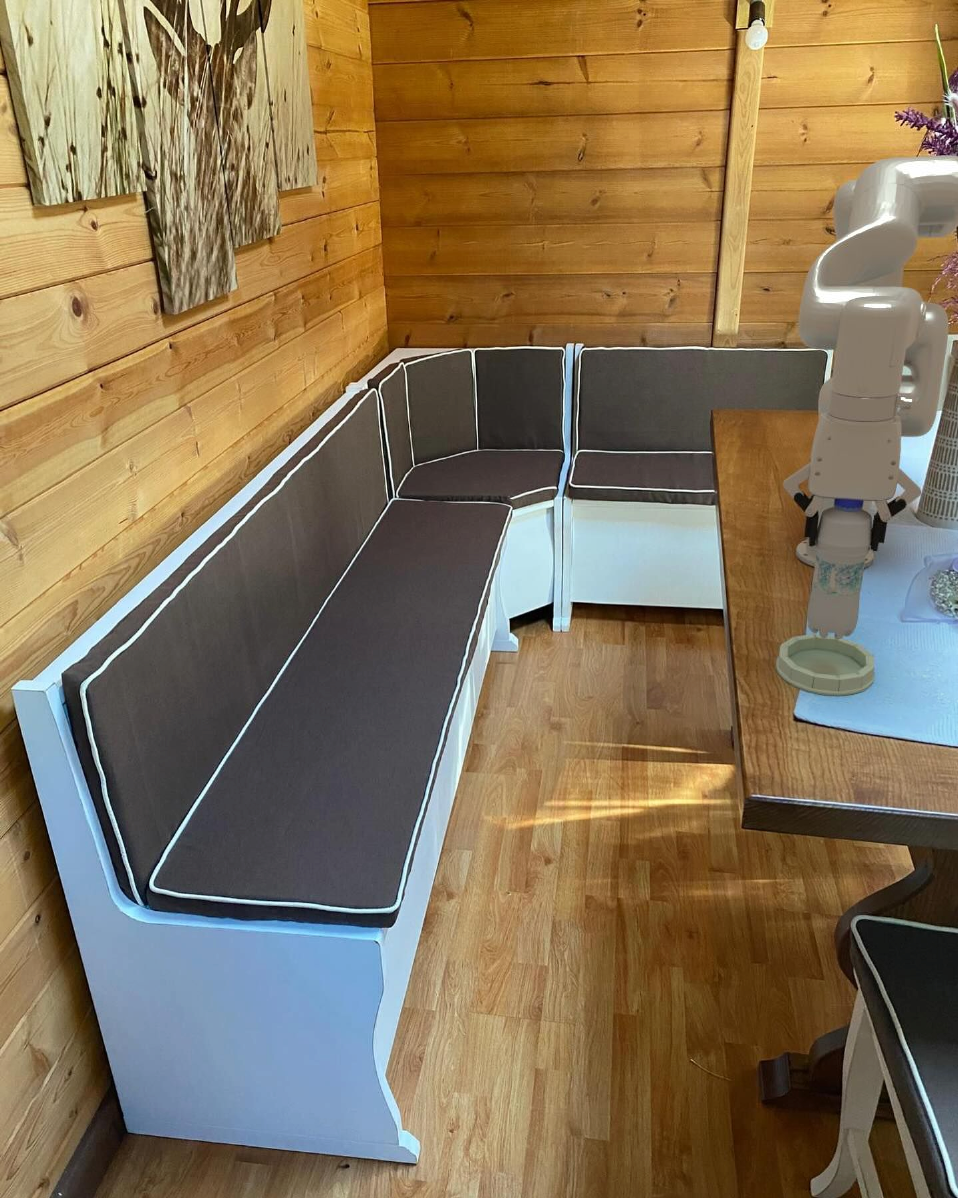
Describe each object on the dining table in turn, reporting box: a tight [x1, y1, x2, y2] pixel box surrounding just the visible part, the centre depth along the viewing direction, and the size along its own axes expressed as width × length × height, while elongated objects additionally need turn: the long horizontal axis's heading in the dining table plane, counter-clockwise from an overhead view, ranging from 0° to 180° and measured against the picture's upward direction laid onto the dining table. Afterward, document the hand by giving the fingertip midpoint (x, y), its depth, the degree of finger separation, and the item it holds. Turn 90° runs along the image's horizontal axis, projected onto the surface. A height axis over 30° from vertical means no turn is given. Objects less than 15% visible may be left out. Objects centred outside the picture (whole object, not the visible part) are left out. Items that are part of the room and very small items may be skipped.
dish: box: [775, 633, 876, 697], centre depth 122 cm, size 13×13×2 cm
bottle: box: [806, 499, 873, 639], centre depth 116 cm, size 7×7×20 cm
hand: (842, 543), depth 114 cm, fingers closed on bottle, 6 cm apart
